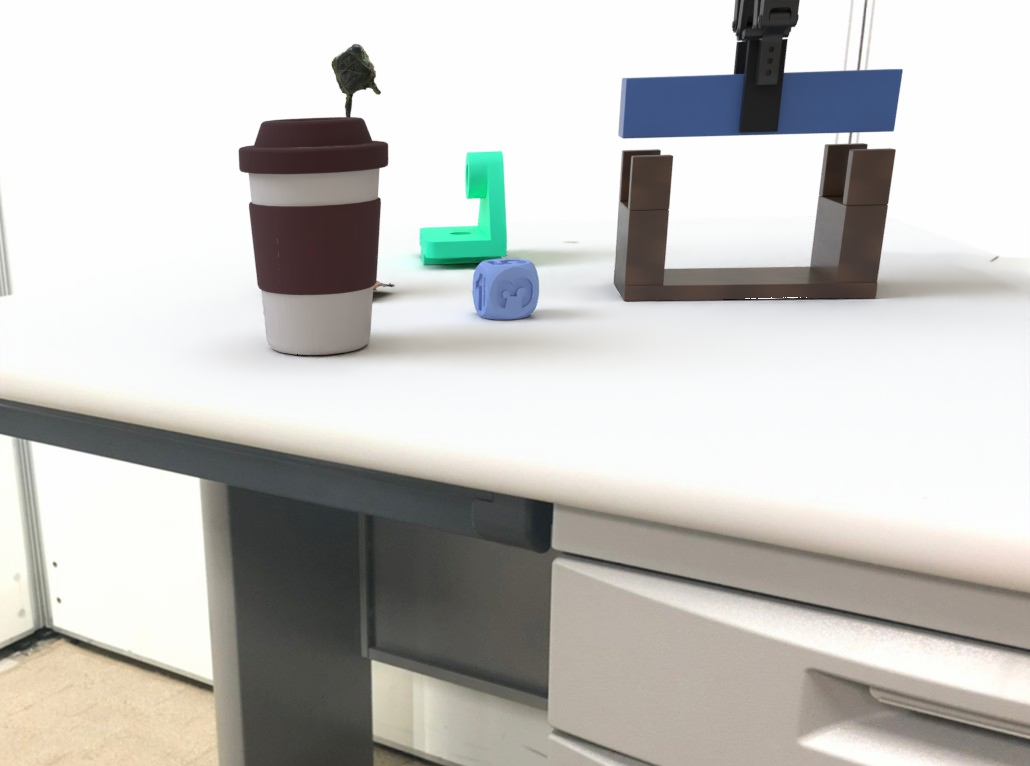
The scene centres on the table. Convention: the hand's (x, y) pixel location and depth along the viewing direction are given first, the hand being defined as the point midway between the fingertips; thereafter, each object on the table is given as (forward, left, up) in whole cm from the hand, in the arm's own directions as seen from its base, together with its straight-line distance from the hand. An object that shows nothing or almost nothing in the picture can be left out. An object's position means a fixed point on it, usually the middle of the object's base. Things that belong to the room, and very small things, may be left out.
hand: (752, 129), depth 94 cm
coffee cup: (+32, +21, -13) cm, 40 cm away
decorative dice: (+19, +10, -13) cm, 25 cm away
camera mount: (+23, -20, -13) cm, 33 cm away
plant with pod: (+34, 0, -13) cm, 36 cm away
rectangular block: (0, 0, 0) cm, 0 cm away
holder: (0, 0, -12) cm, 12 cm away
